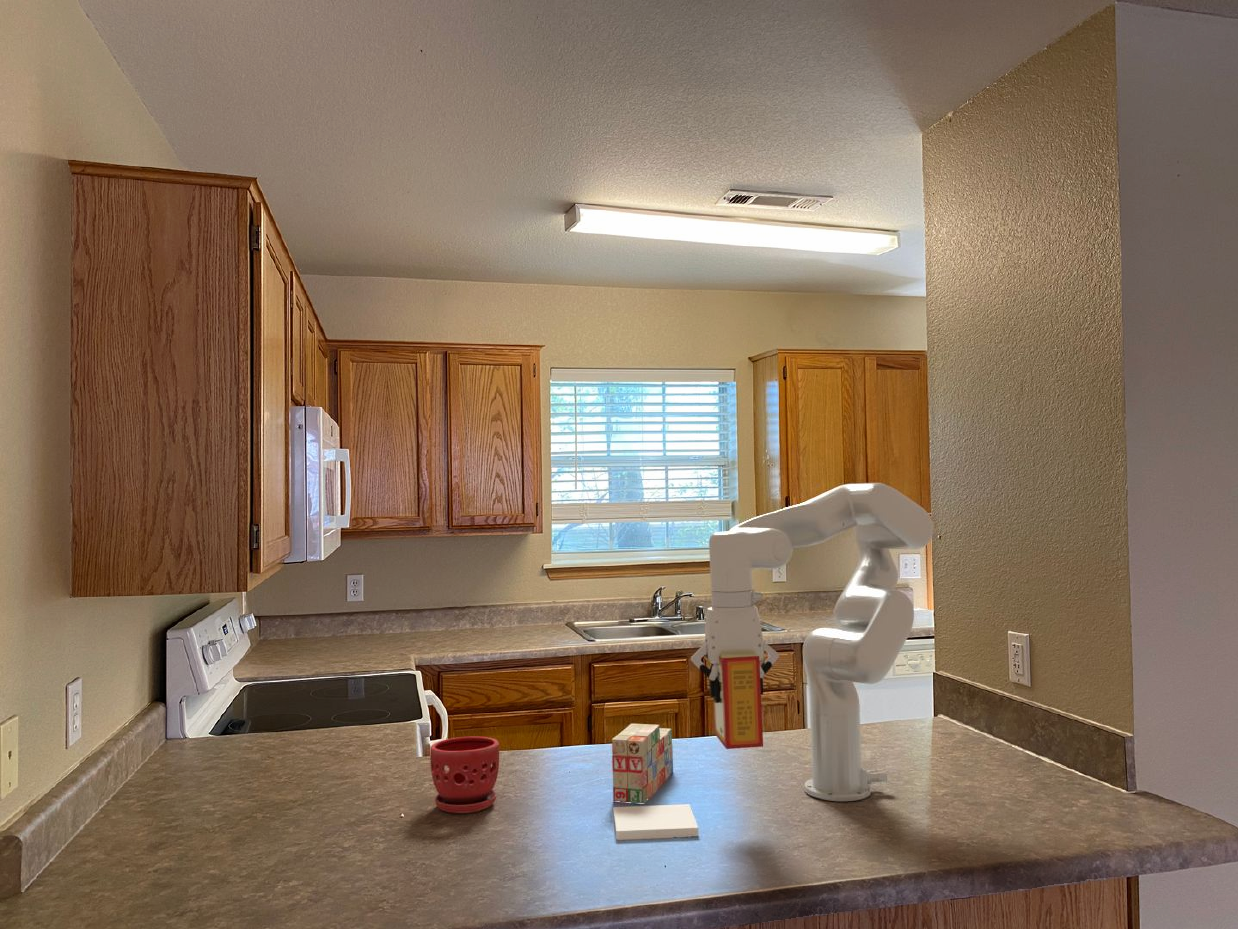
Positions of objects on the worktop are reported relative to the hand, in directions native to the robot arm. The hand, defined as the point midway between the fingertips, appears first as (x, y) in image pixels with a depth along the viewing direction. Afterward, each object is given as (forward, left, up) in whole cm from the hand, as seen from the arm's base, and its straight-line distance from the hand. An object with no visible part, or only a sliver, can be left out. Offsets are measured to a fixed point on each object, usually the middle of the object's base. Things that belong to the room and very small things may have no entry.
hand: (736, 699), depth 161 cm
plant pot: (+50, -15, -22) cm, 57 cm away
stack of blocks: (+15, -22, -22) cm, 35 cm away
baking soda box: (0, 0, -7) cm, 7 cm away
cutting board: (+15, 0, -22) cm, 26 cm away
